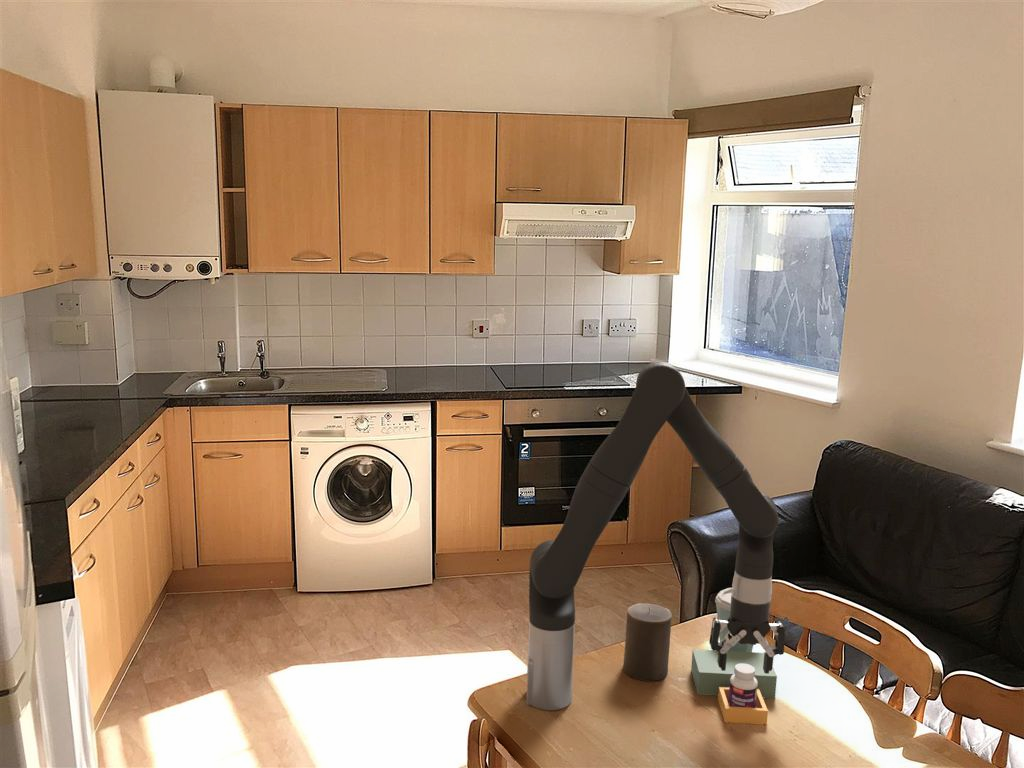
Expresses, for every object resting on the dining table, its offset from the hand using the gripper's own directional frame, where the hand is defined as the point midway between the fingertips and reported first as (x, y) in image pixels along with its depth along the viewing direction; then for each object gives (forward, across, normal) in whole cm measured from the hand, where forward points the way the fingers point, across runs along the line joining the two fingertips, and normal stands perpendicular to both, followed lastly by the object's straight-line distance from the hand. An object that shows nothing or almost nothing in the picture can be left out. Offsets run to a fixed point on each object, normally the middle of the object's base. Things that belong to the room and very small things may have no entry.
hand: (744, 670), depth 177 cm
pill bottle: (+10, 0, 0) cm, 10 cm away
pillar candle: (+10, +18, -15) cm, 25 cm away
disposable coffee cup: (+9, -3, -24) cm, 26 cm away
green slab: (+9, 0, -5) cm, 11 cm away
